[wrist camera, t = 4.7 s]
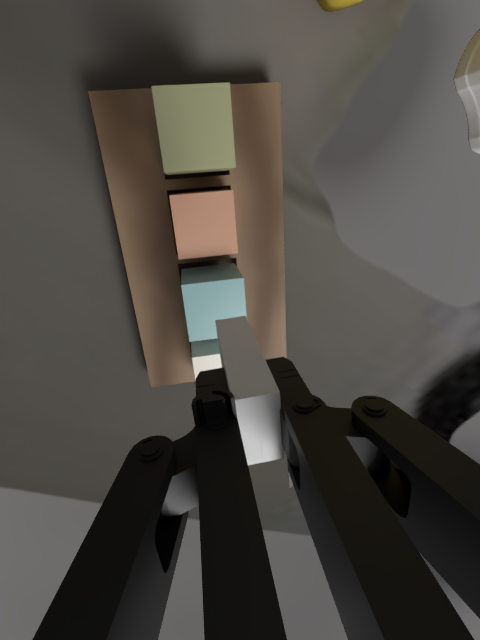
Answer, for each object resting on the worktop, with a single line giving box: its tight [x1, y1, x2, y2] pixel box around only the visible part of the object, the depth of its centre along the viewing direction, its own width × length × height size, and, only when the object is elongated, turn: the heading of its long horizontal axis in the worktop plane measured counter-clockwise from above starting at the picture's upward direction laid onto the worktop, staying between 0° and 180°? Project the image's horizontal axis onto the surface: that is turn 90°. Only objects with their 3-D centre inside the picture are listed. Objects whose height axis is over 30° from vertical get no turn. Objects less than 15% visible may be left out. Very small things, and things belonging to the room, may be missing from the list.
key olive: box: [151, 82, 236, 175], centre depth 22 cm, size 5×5×5 cm
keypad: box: [88, 82, 286, 388], centre depth 30 cm, size 14×25×2 cm, turn 5°
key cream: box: [191, 338, 222, 382], centre depth 29 cm, size 5×5×5 cm
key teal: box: [181, 263, 247, 342], centre depth 27 cm, size 5×5×5 cm
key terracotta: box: [169, 189, 238, 260], centre depth 27 cm, size 5×5×5 cm
